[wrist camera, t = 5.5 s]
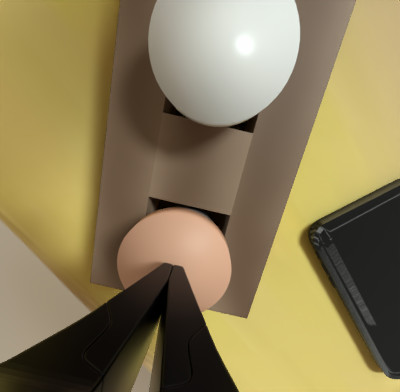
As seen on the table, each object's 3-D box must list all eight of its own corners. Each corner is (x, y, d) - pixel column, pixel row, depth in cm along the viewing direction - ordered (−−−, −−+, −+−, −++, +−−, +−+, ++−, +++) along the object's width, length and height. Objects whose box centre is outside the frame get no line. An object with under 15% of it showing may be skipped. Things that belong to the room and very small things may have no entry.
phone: (427, 171, 12) (496, 346, 14) (409, 169, 13) (475, 332, 16) (306, 232, 13) (388, 384, 16) (298, 226, 14) (376, 368, 17)
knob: (234, 205, 12) (245, 229, 8) (214, 277, 13) (215, 327, 10) (151, 185, 12) (125, 201, 8) (138, 260, 13) (110, 303, 10)
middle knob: (281, 36, 10) (323, -30, 6) (252, 141, 11) (272, 138, 7) (180, 13, 10) (162, -68, 6) (162, 120, 11) (138, 106, 7)
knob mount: (390, -187, 9) (474, -345, 6) (239, 286, 15) (246, 318, 12) (178, -237, 9) (164, -419, 6) (113, 257, 15) (90, 282, 12)
